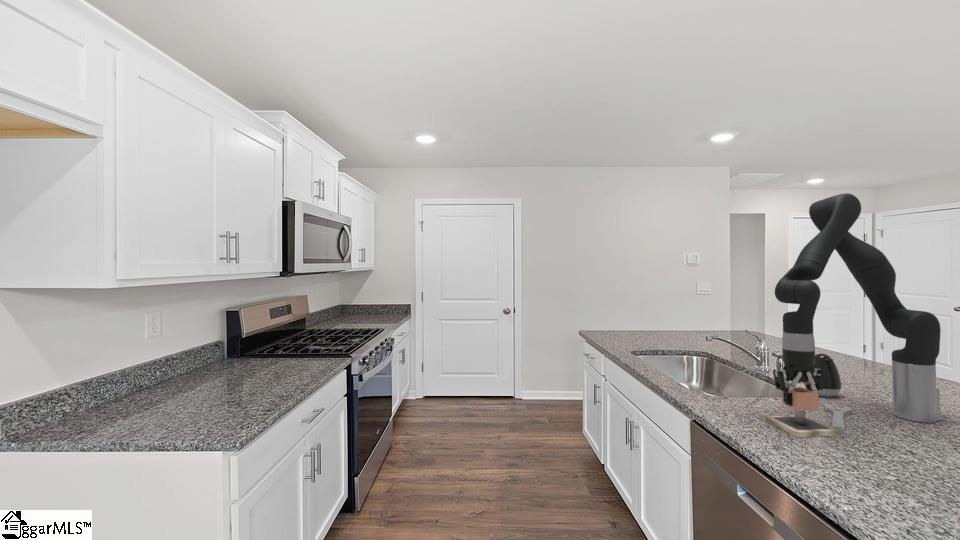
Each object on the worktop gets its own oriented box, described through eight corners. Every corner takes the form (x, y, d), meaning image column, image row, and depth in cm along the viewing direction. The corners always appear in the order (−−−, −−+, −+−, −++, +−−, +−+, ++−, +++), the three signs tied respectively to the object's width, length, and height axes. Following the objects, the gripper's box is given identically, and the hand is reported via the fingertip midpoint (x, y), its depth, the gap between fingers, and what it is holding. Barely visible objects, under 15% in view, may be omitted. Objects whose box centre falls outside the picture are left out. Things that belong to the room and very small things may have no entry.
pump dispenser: (815, 398, 141) (814, 356, 141) (799, 390, 151) (798, 350, 151) (849, 400, 139) (848, 357, 139) (830, 391, 149) (829, 350, 149)
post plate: (803, 419, 123) (802, 387, 123) (838, 436, 111) (838, 400, 111) (765, 421, 123) (764, 388, 123) (796, 437, 111) (795, 401, 111)
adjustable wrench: (844, 436, 112) (844, 429, 112) (815, 429, 117) (815, 423, 117) (852, 411, 129) (852, 406, 129) (826, 407, 134) (826, 402, 134)
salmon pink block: (801, 403, 120) (801, 386, 120) (818, 410, 114) (818, 392, 114) (781, 403, 120) (781, 387, 120) (798, 411, 114) (797, 393, 114)
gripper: (811, 344, 121) (812, 399, 121) (764, 345, 121) (766, 401, 121) (833, 349, 113) (835, 408, 113) (784, 351, 113) (785, 409, 113)
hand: (799, 404), depth 117 cm, fingers closed on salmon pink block, 6 cm apart
